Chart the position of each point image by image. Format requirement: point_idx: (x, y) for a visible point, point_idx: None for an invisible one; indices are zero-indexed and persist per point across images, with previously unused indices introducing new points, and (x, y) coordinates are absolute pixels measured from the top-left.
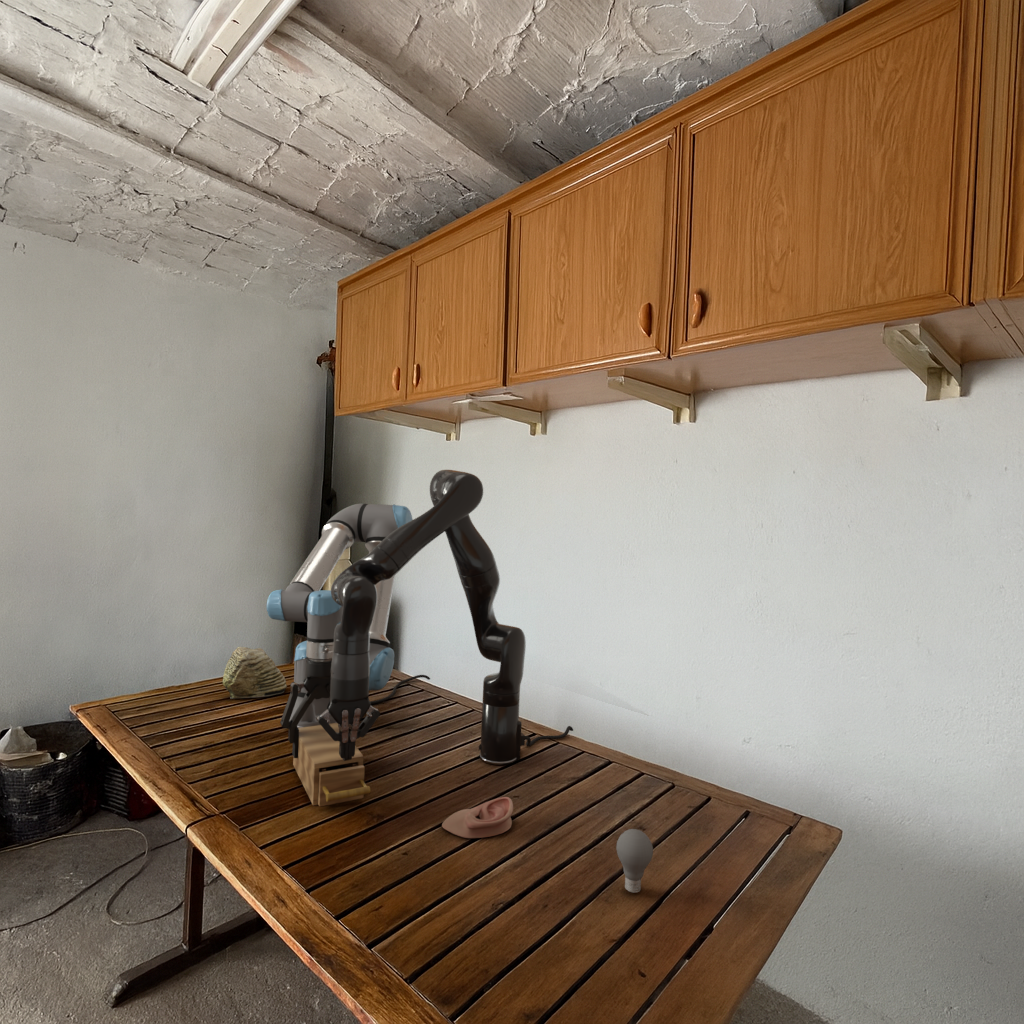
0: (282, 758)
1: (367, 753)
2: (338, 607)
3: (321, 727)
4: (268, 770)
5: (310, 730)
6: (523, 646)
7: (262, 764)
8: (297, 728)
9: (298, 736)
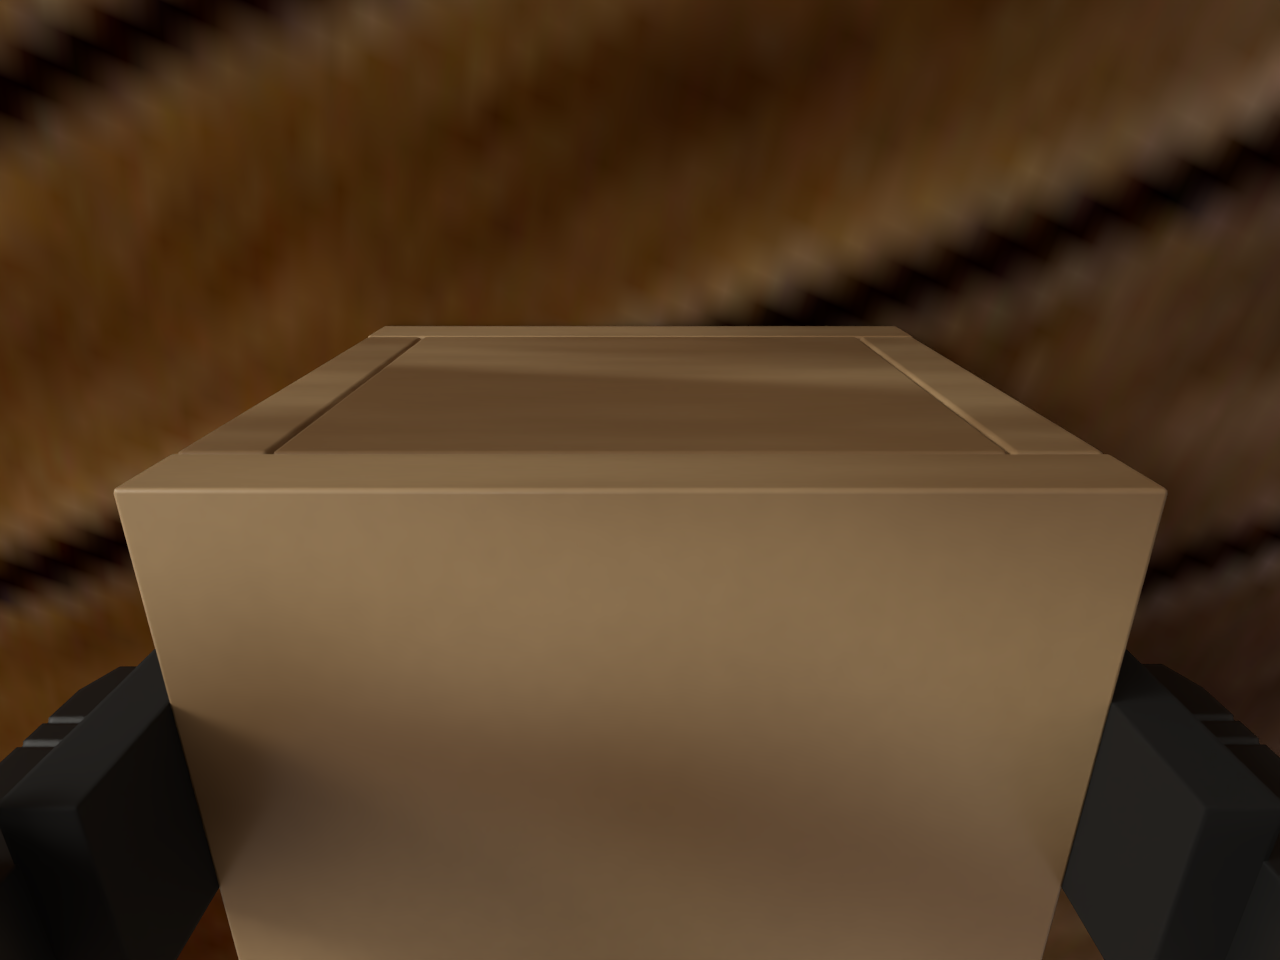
0: (263, 57)
1: (1268, 337)
2: None
3: (713, 642)
4: (116, 367)
5: (458, 720)
6: None
7: (23, 160)
8: (106, 957)
9: (216, 881)
